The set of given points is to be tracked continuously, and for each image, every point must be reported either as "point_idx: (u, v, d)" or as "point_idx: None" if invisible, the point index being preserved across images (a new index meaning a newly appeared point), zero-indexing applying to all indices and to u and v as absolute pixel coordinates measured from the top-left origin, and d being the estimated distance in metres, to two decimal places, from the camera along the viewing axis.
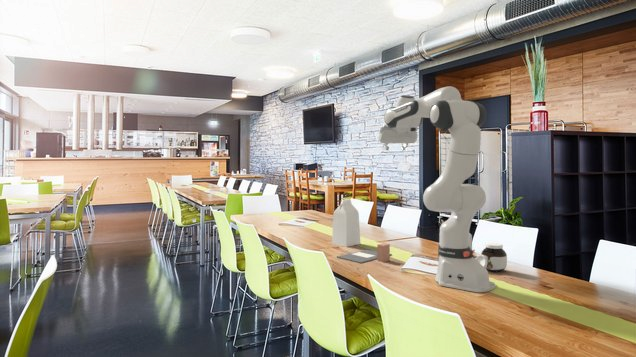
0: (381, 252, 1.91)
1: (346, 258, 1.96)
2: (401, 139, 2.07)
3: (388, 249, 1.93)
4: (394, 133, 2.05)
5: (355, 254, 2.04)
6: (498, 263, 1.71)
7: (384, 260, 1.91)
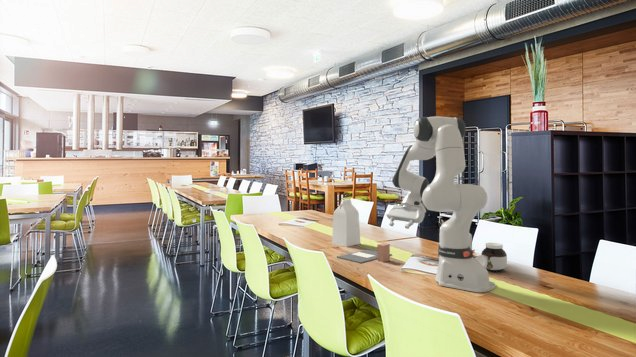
0: (381, 252, 1.91)
1: (346, 258, 1.96)
2: (405, 214, 2.03)
3: (388, 249, 1.93)
4: (400, 208, 2.07)
5: (355, 254, 2.04)
6: (498, 263, 1.71)
7: (384, 260, 1.91)
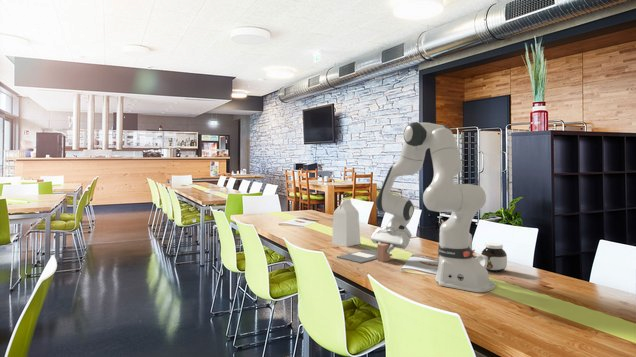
0: (381, 252, 1.91)
1: (346, 258, 1.96)
2: (389, 238, 1.94)
3: None
4: (385, 232, 1.99)
5: (355, 254, 2.04)
6: (498, 263, 1.71)
7: (384, 260, 1.91)
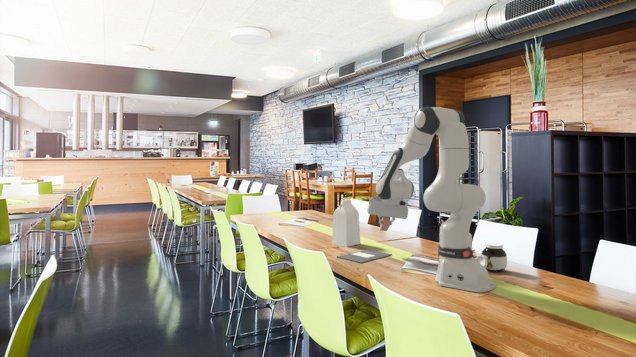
0: (386, 227, 2.03)
1: (346, 258, 1.96)
2: (390, 213, 2.00)
3: None
4: (383, 205, 2.00)
5: (355, 254, 2.04)
6: (498, 263, 1.71)
7: None
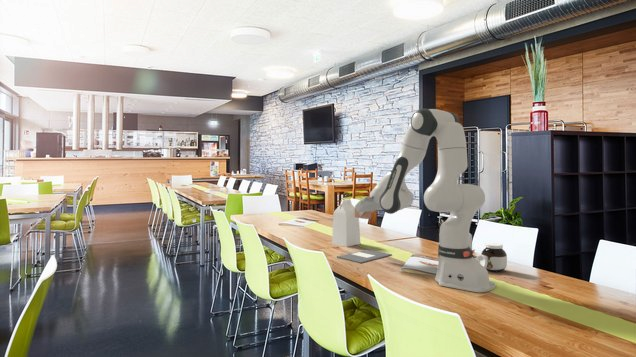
0: None
1: (346, 258, 1.96)
2: (375, 208, 1.98)
3: None
4: (372, 204, 1.93)
5: (355, 254, 2.04)
6: (498, 263, 1.71)
7: None
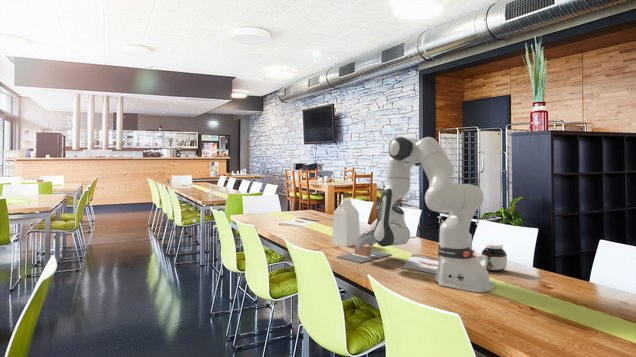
0: None
1: (346, 258, 1.96)
2: (374, 241, 1.99)
3: None
4: (372, 238, 1.94)
5: (355, 254, 2.04)
6: (498, 263, 1.71)
7: None
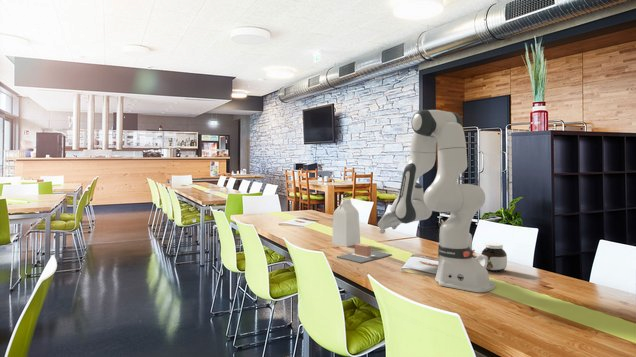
0: None
1: (346, 258, 1.96)
2: (397, 222, 1.93)
3: None
4: (395, 219, 1.89)
5: (355, 254, 2.04)
6: (498, 263, 1.71)
7: None
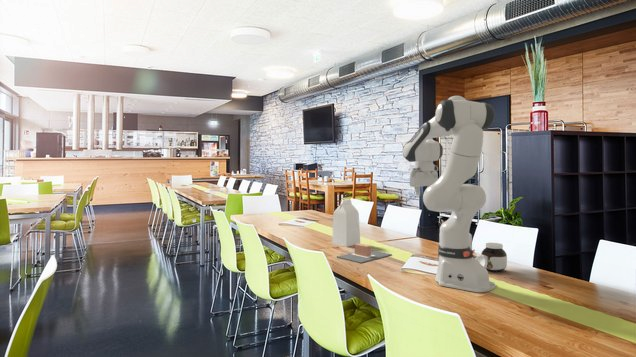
0: None
1: (346, 258, 1.96)
2: (428, 181, 2.00)
3: None
4: (423, 175, 1.97)
5: (355, 254, 2.04)
6: (498, 263, 1.71)
7: None
